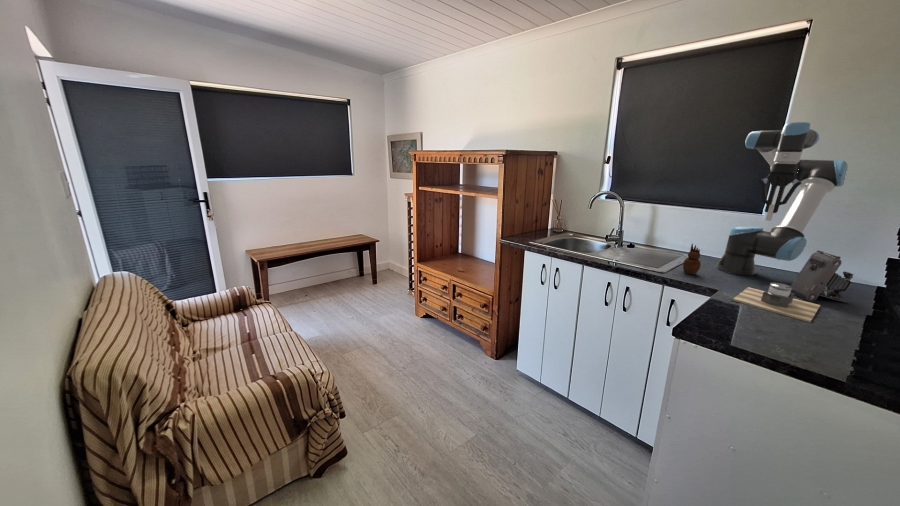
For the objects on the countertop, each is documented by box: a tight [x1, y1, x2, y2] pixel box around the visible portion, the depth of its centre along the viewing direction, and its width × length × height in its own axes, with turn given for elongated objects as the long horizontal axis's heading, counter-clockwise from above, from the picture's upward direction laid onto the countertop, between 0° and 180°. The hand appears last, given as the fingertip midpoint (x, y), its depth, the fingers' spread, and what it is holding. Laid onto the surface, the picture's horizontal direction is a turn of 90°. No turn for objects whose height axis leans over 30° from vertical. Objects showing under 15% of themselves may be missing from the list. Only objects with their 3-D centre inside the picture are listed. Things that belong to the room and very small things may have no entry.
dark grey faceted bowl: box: [761, 286, 796, 308], centre depth 131 cm, size 11×8×4 cm
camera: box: [790, 250, 855, 305], centre depth 137 cm, size 11×17×20 cm, turn 79°
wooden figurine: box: [682, 243, 702, 275], centre depth 163 cm, size 7×6×15 cm
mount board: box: [732, 286, 821, 323], centre depth 132 cm, size 22×22×1 cm
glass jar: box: [768, 282, 793, 297], centre depth 131 cm, size 6×6×7 cm
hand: (768, 220), depth 142 cm, fingers closed
